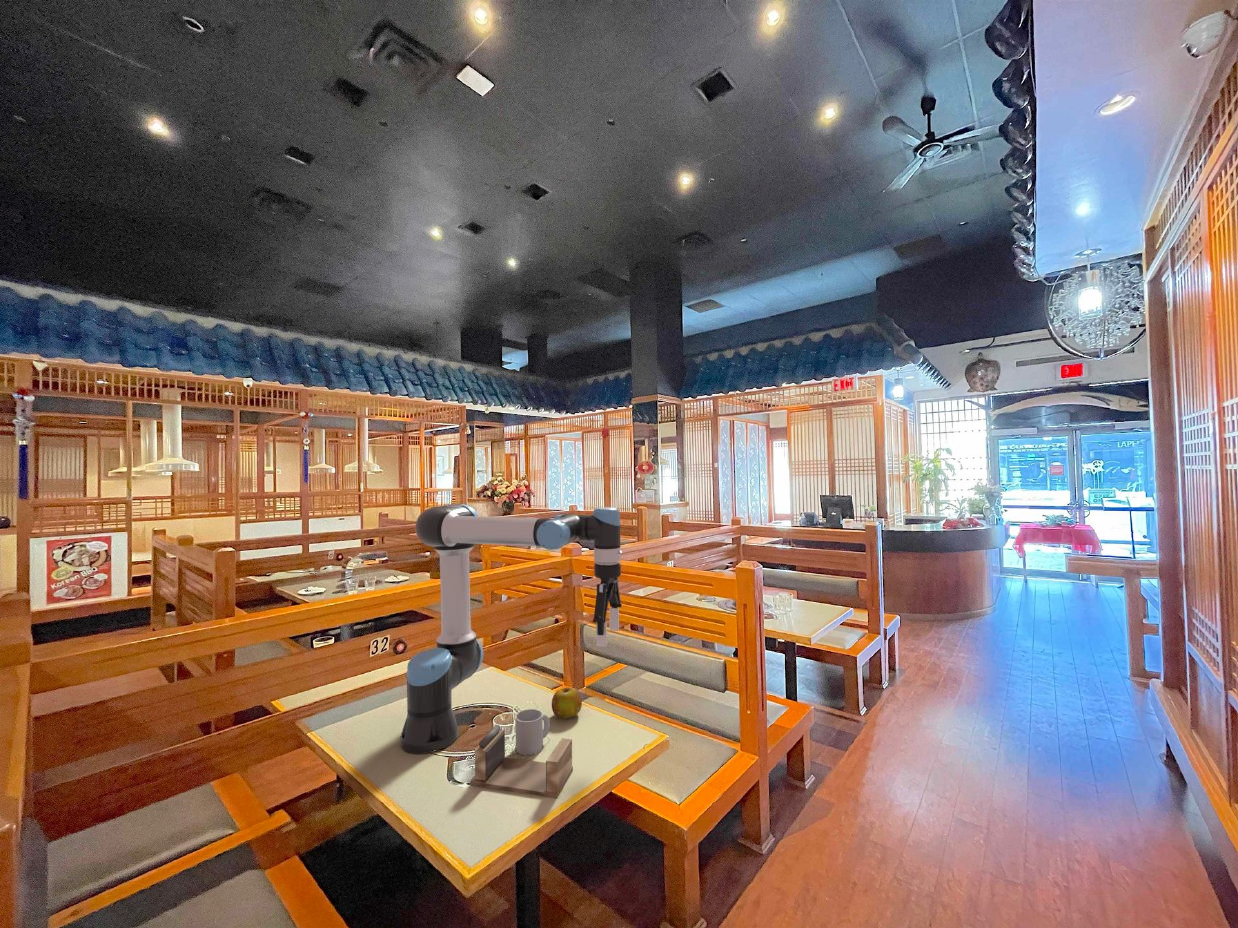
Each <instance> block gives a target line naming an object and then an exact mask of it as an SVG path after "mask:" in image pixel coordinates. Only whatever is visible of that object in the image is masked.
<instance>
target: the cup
mask: <svg viewBox="0 0 1238 928" xmlns="http://www.w3.org/2000/svg"><path fill="white" fill-rule="evenodd" d="M514 717H515V719H514V720H515V721H514V722H515V728H514V729H515V749H516V752H517V753H518V754H519V755H521V756H533V755H536V754H538V753H539V752H541V750H542V749H543V744H544V739H545V738H546V737H547V735H548V734H549V732H550V726H551V725H550V723H551V722H550V718H549V716H548V714H547V713H543V712H542V711H541V710H539V709H536V708H528V709H523V710H520V711H518V712H517V713H516V714H515V716H514Z"/></svg>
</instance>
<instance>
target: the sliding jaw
mask: <svg viewBox="0 0 1238 928" xmlns="http://www.w3.org/2000/svg"><path fill="white" fill-rule="evenodd" d="M505 733H506V732H505V729H501V726H500V725H499V724H496V725H494V727H492V728H491V730H489V732H488V733H487V734H485V736H484V737H482V739H481V740H480V741H479V742H478V746H477V747H476V748H475V749H474V776H475V779H478V780H486V779H487V777H488V776H489V775H490V774H491V773H492V771H493V770H494V769H495V768H496V767H497V765H498V764H499V763H500V762H501V761H502V759H503V758H504V757H506V746H505V745H506V741H505V740H506V739H505V738H506V737H505V736H506V734H505Z"/></svg>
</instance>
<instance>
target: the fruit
mask: <svg viewBox="0 0 1238 928" xmlns="http://www.w3.org/2000/svg"><path fill="white" fill-rule="evenodd" d="M580 694H581V693H580V692H579V691H578V690H577V689H575V688H574V687H563V688H561V689H559V690H557V691H556V692H555V693H554V694H553V696H552V699H551V710H552V712H553V714H554V716H555V717H557V718H558V719H563V720H564V719H569V718H572V717H574V716H576V715H578V714H579V713H580V711H581V709H582V706H583V701H582V696H581V695H580Z"/></svg>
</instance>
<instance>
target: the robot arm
mask: <svg viewBox="0 0 1238 928" xmlns="http://www.w3.org/2000/svg"><path fill="white" fill-rule="evenodd" d="M620 515H621V514H620V510H619V509H618V508H617V507H610V506H609V507H608V506H607V507H596V508H594V509H593V512H592V513H591V514H570V513H564V514H557V515H555V516H554V517H553V518H545V517H544V518H539V517H537V518H535V517H514V516H513V517H510V516H509V517H508V516H505V517H504V516H480V515H479V514H478V512H477V511H476V510H475V509H474V508H473V507H472V506H470V505H468V504H464V503H452V504H446V505H445V504H444V505H437V506H431V507H429V508H427V509H425V510H423V511H422V512H421V513H420V514H419V515H418V517H417V518H416V521H415V526H414V528H415V529H414V531H415V535H416V537H417V538H418V539H419V540H420V542H421V543H422V544H424V545H426V546H428V547H434V549H433V550H434V551H435V552H437V554H439V572H440V575H439V576H440V583H439V584H440V612H441V613H440V614H441V615H440V617H441V620H440V621H441V627H440V628H441V633H440V634H439V635H438V637H437V638H436V647H432V648H428V649H427V650H422V651H420V652H417V653H416V654H414V655H413V656H412V657H411V658H410V659H409V661H408V663H407V668H406V669H407V670H406V676H405V677H406V695H407V696H406V697H407V698H406V702H407V706H406V707H407V711H406V712H407V714H406V718H405V721H404V725H403V727H402V731H401V735H400V747H401V749H402V750H403V751H405V752H406V753H409V754H410V753H411V754H415V755H417V754H418V755H419V754H421V755H423V754H429V753H430V754H431V753H434V752H435V751H434V750H438V751H440V750H439V749H441V750H443V749H446V748H447V747H448V746H451V745H452V744H453V743H454V742H455V741H456V740H457V739H458V738H459V724H458V722H457V720H456V716H455V714H454V710H453V707H452V706H453V705H452V703H453V702H452V690H454V689H455V688H457V686H458V685H461V684H462V683H463V682H464V681H465V680H467V679H469V678H471V677H472V676H473V675H474V674H475V673H476V672H477V671H478V670H479V669H480V667H481V665H482V663H483V660H484V649H483V645H482V644H481V643H480V642H479V640H478V639H477V634H476V632H475V631H474V630H472V623H471V622H472V620H471V619H472V618H471V615H472V614H471V586H470V585H471V582H470V581H471V580H470V579H471V578H470V577H471V575H470V553H471V551H472V550H473V549H474V548H475V545H495V546H496V545H498V546H519V547H520V546H521V547H523V546H524V547H539V548H541V547H542V548H543V549H546V550H548V551H550V550H551V551H554V550H560V549H562V548H563V547H564V546H565V547H566V546H567V545H569V544H572V543H574V542H593V561H594V562H595V563H594V565H593V568H594V569H593V570H594V571H593V573H594V576H595V578H597V579H600V583H599V584H597V585H596V595H595V605H594V611H593V612H594V614H593V619H592V623H595V625H596V626H595V631H596V632H595V634H596V641H595V642H596V647H601V648H602V647H603V648H606V647H607V646H608V637H607V634H608V630H607V629H608V628H609V631H614V632H619V631H620V612H619V611H620V609H619V608H622V603H621V602H622V601H621V595H620V589H619V581H618V579H619V578H620V577H621V575H622V568H621V567H622V564H621V563H620V561H621V560H622V559H621V555H622V554H623V551H622V550H621V526H622V524H621V516H620ZM609 606H610V607H609ZM608 608H609V611H608ZM607 613H608V615H609V617H608V618H609V623H608V622H607ZM607 623H608V624H609V627H608V626H607ZM442 748H443V749H442ZM433 751H434V752H433Z"/></svg>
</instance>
